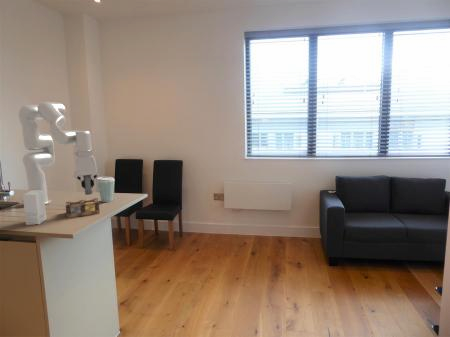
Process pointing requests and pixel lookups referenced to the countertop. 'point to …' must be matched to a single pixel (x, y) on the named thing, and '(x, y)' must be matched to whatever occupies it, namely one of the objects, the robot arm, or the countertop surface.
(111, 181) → the disposable coffee cup
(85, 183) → the peg
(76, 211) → the socket block
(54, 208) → the countertop surface
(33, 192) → the skincare box
